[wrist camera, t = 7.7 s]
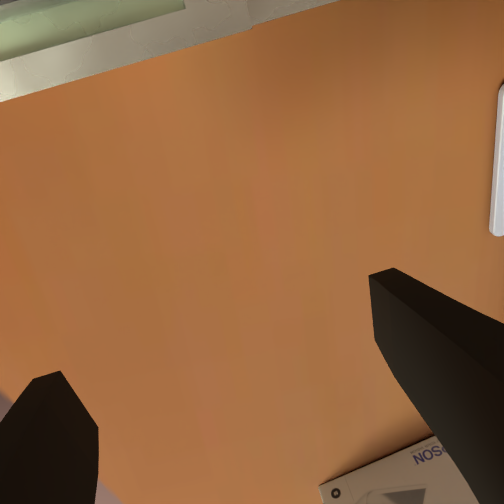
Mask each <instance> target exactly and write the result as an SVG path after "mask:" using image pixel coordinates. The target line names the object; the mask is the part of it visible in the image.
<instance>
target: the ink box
mask: <svg viewBox="0 0 504 504" xmlns="http://www.w3.org/2000/svg"><path fill="white" fill-rule="evenodd" d="M319 492H320V495H321V498H322V501H323V504H479V502H478V501H477V499H476V497H475V495H474V494H473V492H472V490H471V488H470V487H469V485H468V483H467V482H466V480H465V479H464V477H463V476H462V474H461V472H460V471H459V469H458V468H457V466H456V465H455V463H454V462H453V460H452V459H451V457H450V456H449V455H448V453H447V452H446V450H445V449H444V447H443V446H442V445H441V443H440V442H439V440H438V439H437V437H436V436H433V437H431V438H428V439H426V440H424V441H422V442H419V443H417V444H415V445H413V446H410V447H408V448H406V449H404V450H401V451H399V452H397V453H394V454H392V455H390V456H388V457H385V458H383V459H381V460H378V461H376V462H374V463H371V464H369V465H367V466H364V467H362V468H360V469H357V470H355V471H353V472H351V473H348V474H346V475H344V476H341V477H339V478H337V479H334V480H332V481H330V482H327V483H325V484H322V485H320V486H319Z"/></svg>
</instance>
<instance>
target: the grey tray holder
mask: <svg viewBox="0 0 504 504" xmlns="http://www.w3.org/2000/svg"><path fill="white" fill-rule="evenodd" d="M335 1H339V0H78V1H75V2H71V3H68V4H64V5H61V6H57V7H54V8H50V9H47V10H43V11H40V12H36V13H33V14H29V15H25V16H22V17H18V18H15V19H11V20H8V21H4V22H1V23H0V102H2V101H5V100H9V99H12V98H15V97H19V96H22V95H26V94H29V93H33V92H36V91H40V90H43V89H46V88H50V87H53V86H57V85H60V84H64V83H67V82H71V81H74V80H77V79H81V78H84V77H88V76H91V75H95V74H98V73H102V72H105V71H108V70H112V69H115V68H119V67H122V66H126V65H129V64H132V63H136V62H139V61H143V60H146V59H150V58H153V57H157V56H160V55H163V54H167V53H170V52H174V51H177V50H181V49H184V48H188V47H191V46H194V45H198V44H201V43H205V42H208V41H212V40H215V39H219V38H222V37H225V36H229V35H232V34H236V33H239V32H243V31H246V30H250V29H252V25H256V24H259V23H263V22H266V21H270V20H273V19H277V18H280V17H283V16H287V15H290V14H294V13H297V12H301V11H304V10H308V9H311V8H314V7H318V6H321V5H325V4H328V3H332V2H335Z"/></svg>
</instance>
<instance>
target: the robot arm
mask: <svg viewBox="0 0 504 504" xmlns="http://www.w3.org/2000/svg"><path fill="white" fill-rule="evenodd" d="M489 230H490V232H491V233H492V234H493V235H495V236H503V235H504V84H503V85H502V87H501V88H500V90H499V94H498V108H497V123H496V137H495V152H494V166H493V181H492V195H491V210H490V224H489ZM368 276H369V286H370V296H371V307H372V317H373V327H374V338H375V341H376V343H377V345H378V347H379V349H380V351H381V353H382V355H383V357H384V359H385V360H386V362H387V364H388V366H389V368H390V370H391V371H392V373H393V375H394V377H395V378H396V380H397V381H398V383H399V384H400V386H401V387H402V389H403V390H404V392H405V393H406V394H407V396H408V397H409V399H410V400H411V402H412V403H413V405H414V406H415V407H416V409H417V410H418V412H419V413H420V415H421V416H422V417H423V419H424V420H425V422H426V423H427V425H428V426H429V427H430V429H431V430H432V432H433V433H434V435H435V436H436V437H437V439H438V440H439V442H440V443H441V445H442V446H443V447H444V449H445V450H446V452H447V453H448V455H449V456H450V457H451V459H452V460H453V462H454V463H455V465H456V466H457V468H458V469H459V471H460V472H461V474H462V476H463V477H464V479H465V480H466V482H467V483H468V485H469V487H470V488H471V490H472V492H473V494H474V495H475V497H476V499H477V501H478V502H479V504H504V324H503V323H501V322H499V321H497V320H495V319H493V318H491V317H488V316H486V315H484V314H482V313H480V312H478V311H476V310H474V309H472V308H470V307H468V306H466V305H464V304H462V303H460V302H458V301H456V300H454V299H452V298H450V297H448V296H446V295H444V294H442V293H441V292H439V291H437V290H435V289H433V288H431V287H429V286H427V285H425V284H424V283H422V282H420V281H418V280H416V279H414V278H413V277H411V276H409V275H407V274H405V273H403V272H401V271H399V270H397V269H395V268H391V269H387V270H384V271H381V272H378V273H374V274H371V275H368ZM98 460H99V441H98V426H97V425H96V423H95V422H94V420H93V419H92V417H91V416H90V414H89V413H88V411H87V410H86V408H85V407H84V405H83V404H82V402H81V401H80V399H79V398H78V396H77V395H76V393H75V392H74V390H73V389H72V387H71V386H70V384H69V383H68V381H67V380H66V378H65V377H64V375H63V374H62V372H61V371H57V372H54V373H51V374H47V375H44V376H41V377H38V378H34V379H33V380H32V381H31V382H30V383H29V385H28V386H27V387H26V388H25V390H24V391H23V392H22V394H21V395H20V396H19V398H18V399H17V400H16V402H15V403H14V404H13V406H12V407H11V409H10V410H9V411H8V413H7V414H6V415H5V417H4V418H3V420H2V421H1V422H0V504H95V496H96V495H95V494H96V487H97V479H98Z"/></svg>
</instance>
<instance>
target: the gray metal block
mask: <svg viewBox="0 0 504 504" xmlns="http://www.w3.org/2000/svg"><path fill="white" fill-rule="evenodd" d="M75 1H78V0H0V23H1V22H4V21H8V20H11V19H15V18H18V17H22V16H25V15H29V14H33V13H36V12H40V11H43V10H47V9H50V8H54V7H57V6H61V5H64V4H68V3H71V2H75Z"/></svg>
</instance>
